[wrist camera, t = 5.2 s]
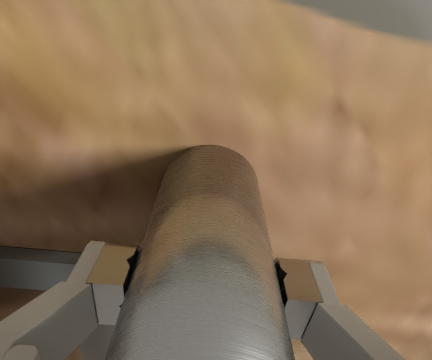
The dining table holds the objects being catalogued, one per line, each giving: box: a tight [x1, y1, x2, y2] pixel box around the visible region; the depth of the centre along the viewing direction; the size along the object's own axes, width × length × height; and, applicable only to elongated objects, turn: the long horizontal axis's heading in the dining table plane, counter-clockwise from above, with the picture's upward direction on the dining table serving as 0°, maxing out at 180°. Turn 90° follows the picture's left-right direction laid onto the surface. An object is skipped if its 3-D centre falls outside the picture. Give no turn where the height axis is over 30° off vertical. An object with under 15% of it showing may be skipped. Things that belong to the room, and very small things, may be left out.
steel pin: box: [104, 145, 295, 360], centre depth 8 cm, size 4×4×12 cm
